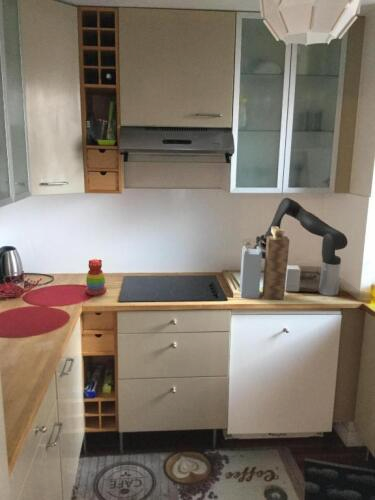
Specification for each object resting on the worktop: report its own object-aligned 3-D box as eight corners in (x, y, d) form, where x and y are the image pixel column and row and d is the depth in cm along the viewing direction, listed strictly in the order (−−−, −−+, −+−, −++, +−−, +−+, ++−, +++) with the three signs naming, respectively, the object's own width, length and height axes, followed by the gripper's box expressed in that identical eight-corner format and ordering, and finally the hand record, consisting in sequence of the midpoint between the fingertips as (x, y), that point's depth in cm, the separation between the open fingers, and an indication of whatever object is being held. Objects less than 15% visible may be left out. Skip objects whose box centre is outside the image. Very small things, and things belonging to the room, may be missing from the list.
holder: (256, 291, 233) (259, 246, 226) (258, 298, 223) (262, 251, 216) (239, 290, 233) (242, 245, 226) (241, 297, 223) (244, 251, 217)
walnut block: (281, 295, 228) (286, 236, 219) (283, 300, 221) (289, 239, 212) (262, 294, 228) (266, 235, 219) (264, 299, 221) (269, 239, 212)
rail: (278, 232, 227) (279, 224, 226) (283, 239, 212) (284, 231, 211) (269, 232, 227) (270, 224, 226) (274, 239, 212) (275, 230, 211)
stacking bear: (106, 287, 232) (105, 256, 227) (107, 294, 222) (106, 261, 217) (85, 289, 229) (84, 256, 224) (85, 296, 220) (84, 262, 215)
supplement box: (298, 291, 234) (301, 269, 230) (285, 291, 234) (287, 269, 230) (295, 286, 241) (298, 265, 237) (282, 286, 241) (284, 264, 238)
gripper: (253, 237, 252) (258, 229, 236) (278, 238, 252) (284, 230, 236) (253, 250, 250) (258, 242, 234) (278, 250, 250) (284, 243, 234)
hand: (271, 236), depth 235 cm, fingers open, 8 cm apart
